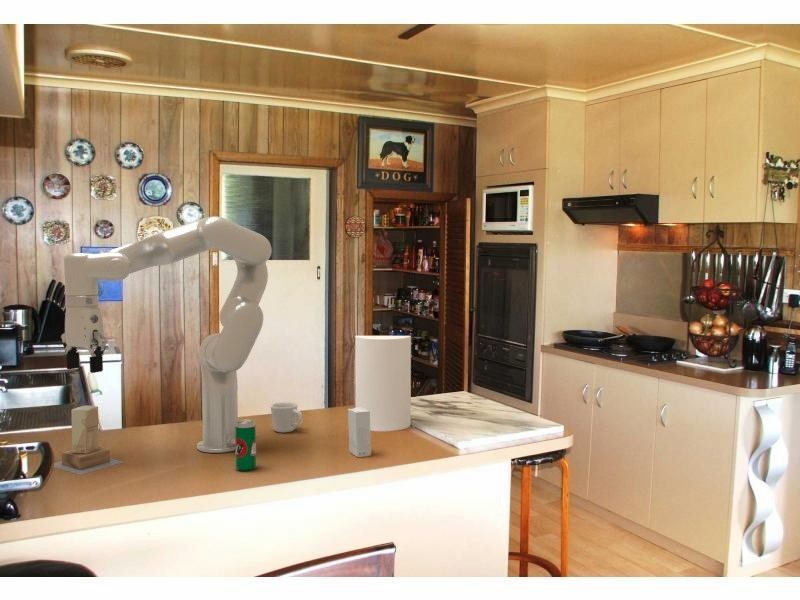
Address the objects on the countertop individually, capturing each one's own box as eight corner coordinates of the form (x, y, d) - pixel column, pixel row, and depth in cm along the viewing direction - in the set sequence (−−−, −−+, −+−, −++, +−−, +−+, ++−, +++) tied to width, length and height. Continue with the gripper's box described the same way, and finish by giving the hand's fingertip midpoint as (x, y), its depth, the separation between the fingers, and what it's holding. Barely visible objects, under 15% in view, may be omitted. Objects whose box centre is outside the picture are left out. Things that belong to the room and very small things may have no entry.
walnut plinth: (109, 462, 179) (109, 449, 179) (80, 470, 172) (80, 457, 172) (91, 456, 184) (90, 444, 183) (61, 464, 177) (61, 452, 177)
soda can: (256, 471, 174) (255, 423, 174) (235, 472, 173) (234, 424, 173) (256, 465, 179) (255, 418, 179) (235, 466, 178) (235, 419, 177)
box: (86, 454, 175) (85, 410, 174) (71, 453, 176) (70, 409, 175) (100, 448, 180) (98, 405, 179) (85, 447, 181) (84, 404, 180)
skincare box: (371, 455, 188) (371, 411, 187) (356, 458, 186) (356, 412, 185) (362, 449, 193) (362, 406, 192) (347, 452, 191) (347, 407, 190)
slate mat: (124, 465, 179) (124, 462, 179) (80, 477, 169) (80, 474, 169) (91, 456, 187) (91, 453, 187) (47, 467, 177) (47, 464, 177)
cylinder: (410, 431, 213) (410, 339, 211) (353, 431, 213) (353, 339, 211) (410, 417, 230) (410, 332, 228) (357, 417, 230) (357, 332, 228)
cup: (310, 431, 213) (310, 405, 213) (292, 436, 206) (292, 410, 206) (283, 426, 219) (283, 400, 218) (265, 431, 212) (265, 405, 212)
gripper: (116, 302, 174) (119, 371, 175) (75, 300, 184) (78, 365, 185) (89, 304, 168) (92, 375, 169) (47, 302, 177) (50, 369, 179)
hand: (84, 370), depth 177 cm, fingers open, 9 cm apart
